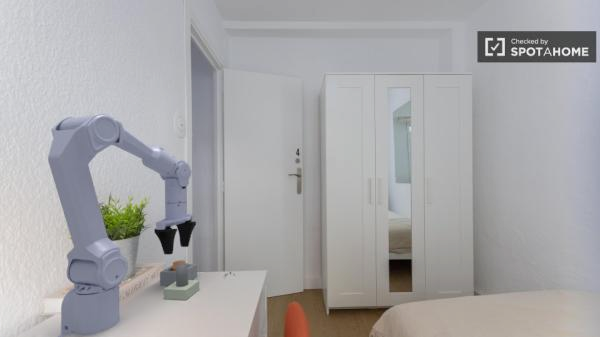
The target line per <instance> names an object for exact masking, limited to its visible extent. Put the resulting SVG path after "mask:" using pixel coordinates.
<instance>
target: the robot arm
mask: <svg viewBox="0 0 600 337" xmlns="http://www.w3.org/2000/svg"><path fill="white" fill-rule="evenodd" d="M50 131H51V133H52V137H53V139H52V140H51V141H52V142H51V146H50V149H49V152H48V156H47V161H48V164H49V169H50V171H51V174H52V178H53V182H54V185H55V188H56V192H57V195H58V197H59V201H60V205H61V207H62V208H61V209H62V211H63V215H64V218H65V223H66V225H67V229H68V232H69V235H70V238H71V241H72V245H73V247H72V248H71V250H70V251H69V252H68V253H67V254H66V258H67V267H66V278H67V279H68V281H69V282H70V283H73V288H71V289H69V291H67V293H65V295H64V297H63V299H62V301H61V308H60V309H61V310H60V311H61V312H60V320H61V322H60V325H61V326H60V330H61V332H60V334H59V335H58V336H57V337H66V336H67V335H69V334H71V333H73V334H74V333H75V334H77V335H79V336H80V335H81V336H87V335H94V334H98V333H101V332H104V331H106V330H109V329H110V328H113V327H114V326H116V325H117V324H118V323H119V322H120V320H121V318H120V315H121V314H120V312H121V310H120V308H121V307H120V285H122V282H123V280H125V277H126V275H127V273H128V270H129V262H128V260H127V258H126V257H125V256H124V255H123V254H122V253H121V249H120V247H119V245H118V244H116V243H115V242H114V241H112V240H111V239H110V238H109V237H108V233H107V230H106V225H105V222H104V218H103V214H102V211H101V207H100V204H99V201H98V196H97V192H96V189H95V185H94V181H93V178H92V174H91V173H92V172H91V170H90V167H89V165H90V163H91V162H92V161H93V159H94V158H96V156H97V155H98V154H99V153H101V152H102V151H104V150H105V149H107V148H109V147H110V146H114V147H117V148H119V149H121V150H123V151H125V152H127V153H129V154H131V155H134V156H136V157H137V158H140V159H141V162H142V165H143V166H145V167H147V169H150V170H152V171H154V172H155V173H157V174H159V176H160V179H162V180H163V181H164V198H165V199H164V205H165V206H164V208H165V210H164V211H165V212H164V214H165V216H164V217H165V218H163V219H161V220H159V221H156V222H155V228H154V234H155V236H156V237H157V238H158V241H159V242H160V244H161V247H162V251H163V254H164V255H173V253H174V244H175V238H176V234H177V231H178V235H179V243H180V247H181V248H188V247H189V245H190V241H191V237H192V234H193V231H194V229H195V226H196V225H197V222H196V221H194V213H192V214H191V213H189V214H188V186H189V182H190V181H189V180H190V177H191V176H192V170H191V166H190V164H189V163H188V162H186V161H185V160H178V159H177V158H176V156H174V155H171V154H170V153H167V152H166V150H165V149H164V148H163V147H162V146H152V147H150V146H149V145H148V144H146V143H145V142H143V141H142V140H140V139H139V138H138V137H137V136H135V135H134V134H132V133H131V132H130V131H129V130H127V129H125V128H124V126H123V123H122V122H121V121H119V120H115V119H114V117H112V116H111V115H109V114H106V113H100V112H99V113H96V114H92V115H91V114H90V115H83V116H77V117H76V116H74V117H73V116H71V117H70V116H69V117H65V118H63V119H61V120H60V121H59V122H57V124H56V125H54V126H53V127H52V128H51V129H50ZM174 226H176V228H173V227H174Z"/></svg>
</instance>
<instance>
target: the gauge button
mask: <svg viewBox="0 0 600 337" xmlns="http://www.w3.org/2000/svg"><path fill="white" fill-rule="evenodd" d="M181 263H186V261H185V260H183V259H182V260H175V261H174V262H172V265H173V271H176V265H178V264H181Z"/></svg>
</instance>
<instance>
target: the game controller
mask: <svg viewBox="0 0 600 337" xmlns="http://www.w3.org/2000/svg"><path fill="white" fill-rule="evenodd" d="M232 274H233V276H235V275H236V274H235V273H233V271H231V270H230V271H228V272H227V271H226V273H224V275H223V276H222V278H223V279H224V280H225V279H227V278H228V277H229V276H230V275H232Z"/></svg>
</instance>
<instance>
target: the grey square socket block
mask: <svg viewBox="0 0 600 337" xmlns="http://www.w3.org/2000/svg"><path fill="white" fill-rule="evenodd" d="M187 264H188V280H196V279H197V278H198V264H196V263H195V264H194V263H187ZM174 282H176V271H173V264H172V265H170V266H168V267H167V268H165V269H162V270H161V271H160V272H159V284H160V286H161V287H168V286H170V285H171V284H173V283H174Z"/></svg>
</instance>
